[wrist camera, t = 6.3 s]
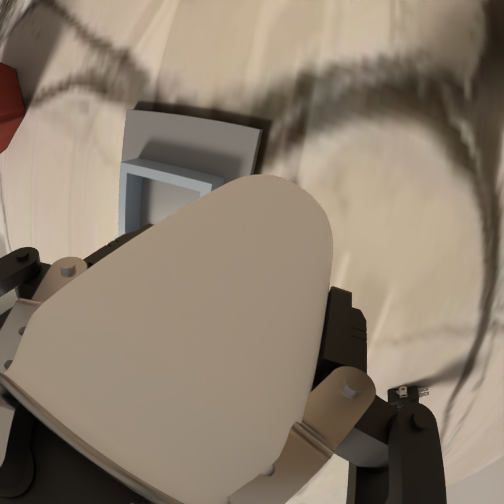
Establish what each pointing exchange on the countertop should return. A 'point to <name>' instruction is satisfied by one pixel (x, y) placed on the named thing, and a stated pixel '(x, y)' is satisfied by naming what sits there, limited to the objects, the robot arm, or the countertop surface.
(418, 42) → the countertop surface
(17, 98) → the plant pot
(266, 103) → the countertop surface
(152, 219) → the housing
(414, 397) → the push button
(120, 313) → the can
